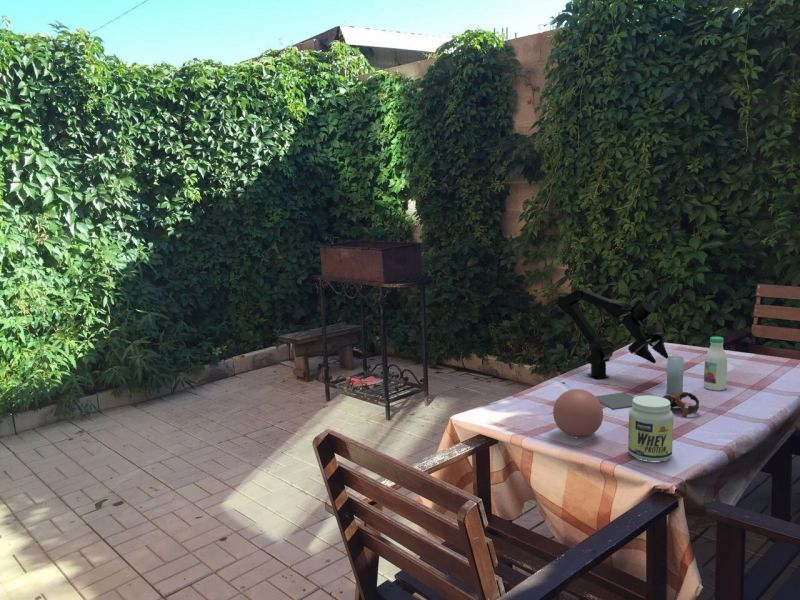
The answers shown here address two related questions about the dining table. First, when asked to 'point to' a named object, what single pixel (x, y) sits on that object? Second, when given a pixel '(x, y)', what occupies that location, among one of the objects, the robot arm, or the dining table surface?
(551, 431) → the dining table surface
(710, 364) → the milk bottle
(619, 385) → the dining table surface
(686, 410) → the brown black curved piece
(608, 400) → the coaster mat
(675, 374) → the tumbler
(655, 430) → the supplement tub
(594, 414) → the brown rubber ball
